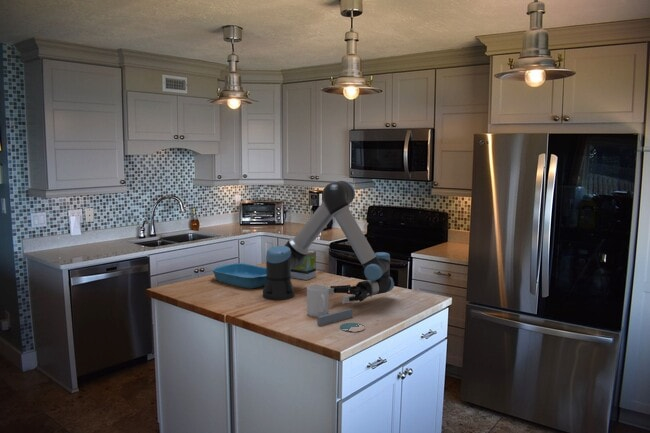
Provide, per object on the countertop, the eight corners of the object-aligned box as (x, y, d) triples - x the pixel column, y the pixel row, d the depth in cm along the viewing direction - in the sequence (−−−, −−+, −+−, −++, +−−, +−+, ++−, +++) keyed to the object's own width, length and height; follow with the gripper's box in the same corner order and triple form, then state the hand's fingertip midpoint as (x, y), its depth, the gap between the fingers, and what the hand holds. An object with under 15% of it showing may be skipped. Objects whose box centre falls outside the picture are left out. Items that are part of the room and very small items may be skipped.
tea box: (316, 277, 288) (316, 250, 286) (306, 280, 280) (306, 253, 278) (294, 273, 296) (294, 247, 294) (283, 276, 288) (283, 250, 286)
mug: (319, 309, 231) (320, 283, 230) (336, 316, 222) (336, 289, 220) (302, 313, 226) (302, 287, 224) (318, 320, 216) (319, 293, 215)
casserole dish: (204, 280, 278) (204, 267, 277) (235, 273, 296) (235, 260, 295) (253, 293, 256) (253, 279, 255) (283, 284, 274) (283, 270, 273)
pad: (342, 333, 202) (342, 332, 202) (337, 324, 212) (337, 323, 212) (367, 331, 204) (367, 330, 204) (361, 323, 214) (361, 322, 213)
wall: (319, 326, 209) (319, 317, 209) (317, 325, 211) (317, 316, 210) (352, 317, 221) (352, 309, 220) (349, 316, 222) (350, 308, 222)
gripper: (386, 302, 232) (351, 312, 218) (348, 290, 250) (314, 298, 237) (386, 286, 231) (352, 294, 217) (348, 275, 249) (314, 282, 236)
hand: (332, 296), depth 227 cm, fingers open, 13 cm apart
